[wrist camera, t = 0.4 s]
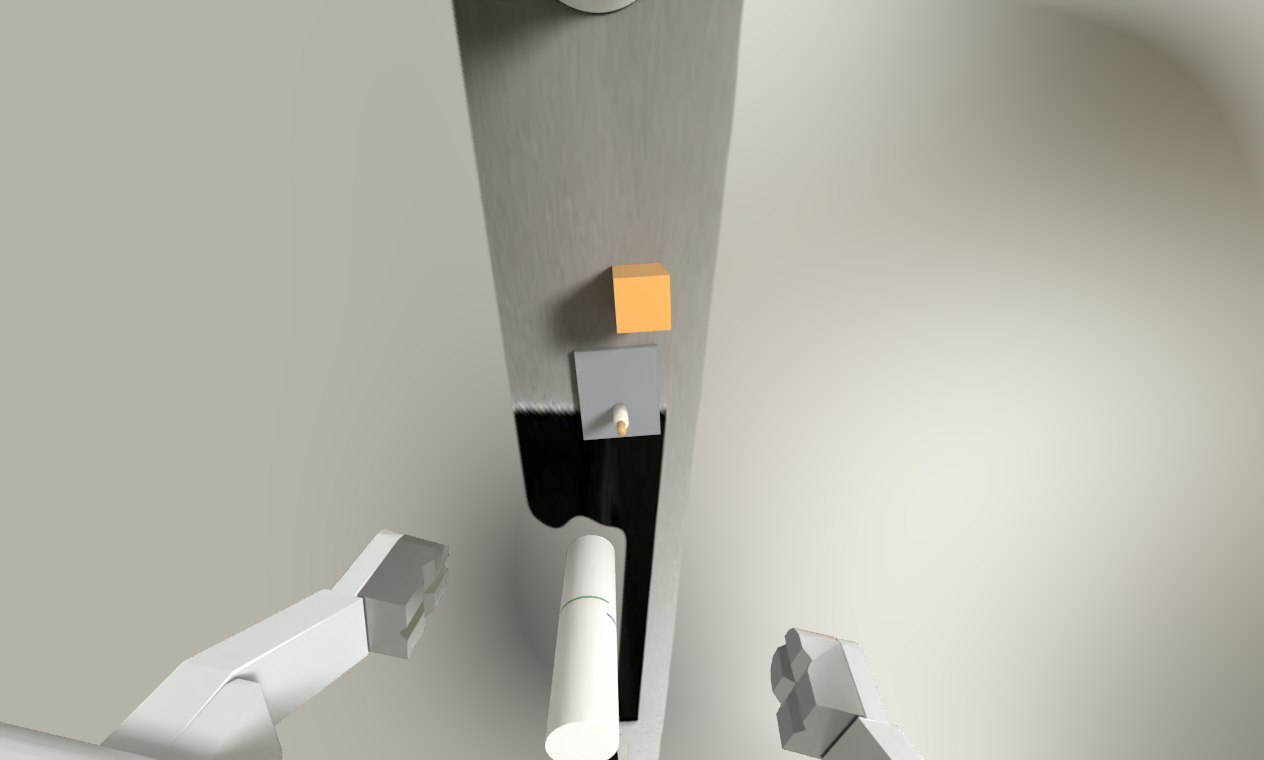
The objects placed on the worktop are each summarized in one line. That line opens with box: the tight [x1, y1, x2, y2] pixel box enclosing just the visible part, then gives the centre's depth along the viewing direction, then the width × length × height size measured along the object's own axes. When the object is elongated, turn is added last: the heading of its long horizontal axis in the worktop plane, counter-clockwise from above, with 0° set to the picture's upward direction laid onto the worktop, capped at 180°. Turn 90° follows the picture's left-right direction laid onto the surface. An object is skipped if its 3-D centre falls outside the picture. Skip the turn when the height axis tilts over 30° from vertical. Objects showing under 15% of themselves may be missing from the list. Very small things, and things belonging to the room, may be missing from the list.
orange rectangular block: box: [612, 263, 671, 333], centre depth 47 cm, size 5×5×9 cm
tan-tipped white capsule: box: [613, 403, 629, 436], centre depth 53 cm, size 2×2×6 cm
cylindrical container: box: [545, 535, 619, 760], centre depth 54 cm, size 7×7×25 cm
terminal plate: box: [574, 344, 660, 440], centre depth 56 cm, size 12×10×1 cm
